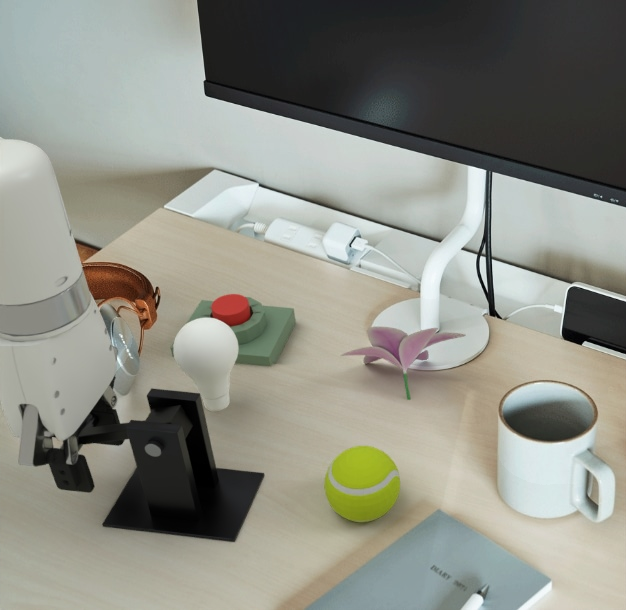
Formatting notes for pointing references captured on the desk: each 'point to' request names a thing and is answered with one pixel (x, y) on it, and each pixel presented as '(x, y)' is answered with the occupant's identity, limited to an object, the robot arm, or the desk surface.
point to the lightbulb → (207, 358)
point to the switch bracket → (181, 479)
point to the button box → (257, 331)
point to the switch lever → (115, 432)
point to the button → (231, 309)
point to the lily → (400, 346)
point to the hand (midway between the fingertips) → (92, 463)
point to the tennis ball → (362, 484)
